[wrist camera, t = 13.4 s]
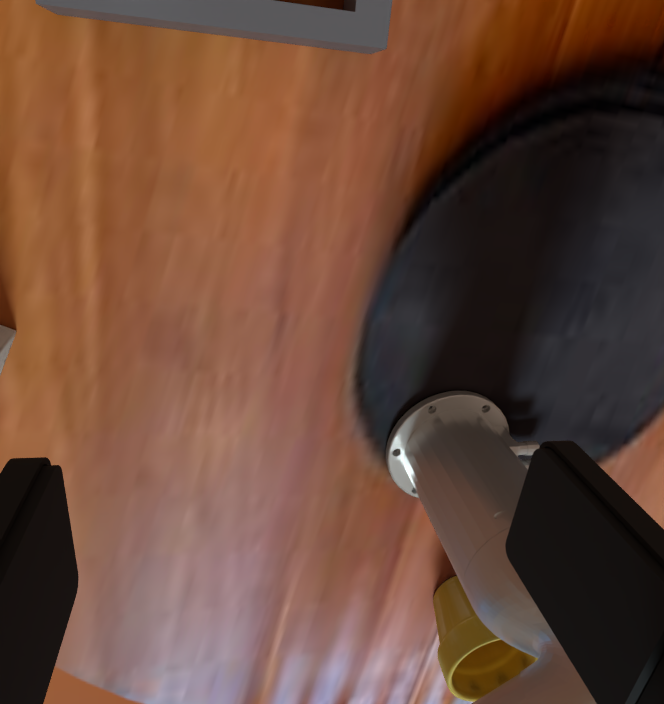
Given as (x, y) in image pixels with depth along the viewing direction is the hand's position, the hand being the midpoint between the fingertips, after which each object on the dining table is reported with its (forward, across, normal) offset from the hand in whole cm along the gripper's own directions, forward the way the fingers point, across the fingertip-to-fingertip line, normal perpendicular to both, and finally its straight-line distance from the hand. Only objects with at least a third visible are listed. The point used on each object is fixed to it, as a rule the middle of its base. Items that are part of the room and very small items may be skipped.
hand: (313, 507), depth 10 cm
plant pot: (+32, -26, +44) cm, 61 cm away
